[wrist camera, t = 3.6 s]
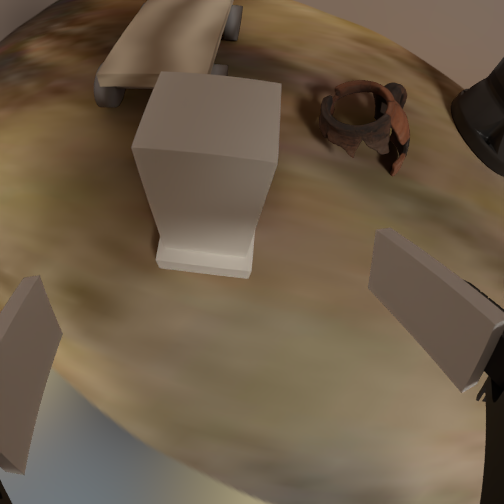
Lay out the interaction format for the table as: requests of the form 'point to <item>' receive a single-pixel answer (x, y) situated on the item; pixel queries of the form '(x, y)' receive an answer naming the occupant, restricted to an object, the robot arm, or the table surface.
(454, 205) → the table surface
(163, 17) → the trolley
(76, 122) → the table surface
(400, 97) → the broken clay pot
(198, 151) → the grey pillar on base
